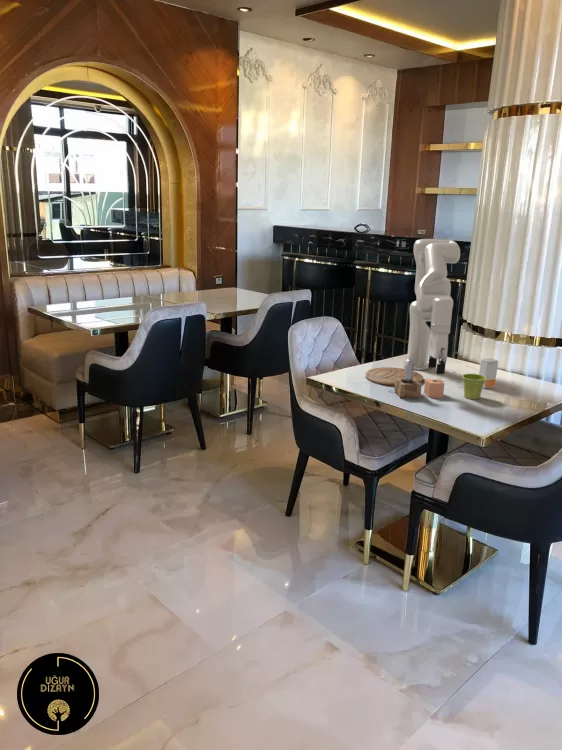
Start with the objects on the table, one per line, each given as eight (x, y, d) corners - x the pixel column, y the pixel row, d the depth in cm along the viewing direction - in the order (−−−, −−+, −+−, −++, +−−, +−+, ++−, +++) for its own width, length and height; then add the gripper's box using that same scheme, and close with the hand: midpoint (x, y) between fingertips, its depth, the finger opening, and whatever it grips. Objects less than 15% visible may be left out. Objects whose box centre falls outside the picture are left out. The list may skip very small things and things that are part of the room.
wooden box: (394, 392, 254) (395, 378, 252) (414, 392, 255) (415, 378, 253) (399, 398, 246) (400, 384, 244) (420, 398, 247) (421, 384, 245)
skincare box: (483, 388, 262) (487, 361, 258) (477, 385, 265) (480, 359, 262) (495, 387, 264) (498, 360, 260) (488, 384, 268) (492, 358, 264)
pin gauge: (401, 391, 252) (404, 358, 248) (409, 391, 252) (413, 358, 248) (404, 394, 248) (407, 361, 244) (412, 394, 249) (415, 361, 245)
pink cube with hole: (423, 392, 254) (425, 378, 252) (437, 392, 255) (439, 378, 253) (428, 397, 248) (429, 383, 247) (442, 397, 249) (444, 383, 247)
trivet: (430, 377, 277) (430, 373, 277) (412, 391, 256) (412, 387, 256) (377, 368, 289) (377, 364, 288) (356, 381, 268) (356, 377, 268)
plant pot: (466, 401, 245) (469, 380, 242) (455, 394, 254) (458, 373, 251) (488, 400, 247) (490, 379, 244) (476, 393, 255) (479, 373, 253)
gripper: (424, 324, 251) (420, 365, 256) (438, 333, 235) (434, 376, 239) (442, 325, 252) (437, 365, 257) (457, 333, 236) (452, 376, 240)
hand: (436, 370), depth 248 cm, fingers open, 9 cm apart
